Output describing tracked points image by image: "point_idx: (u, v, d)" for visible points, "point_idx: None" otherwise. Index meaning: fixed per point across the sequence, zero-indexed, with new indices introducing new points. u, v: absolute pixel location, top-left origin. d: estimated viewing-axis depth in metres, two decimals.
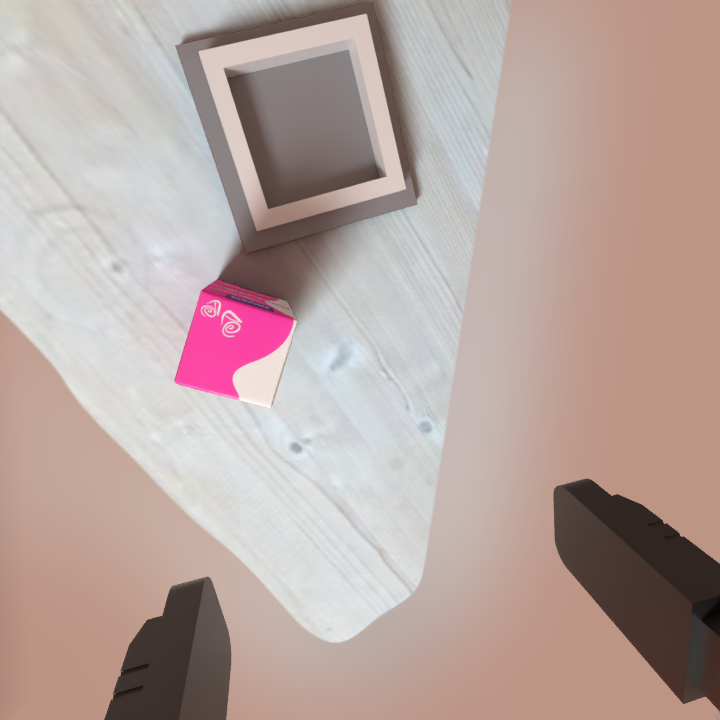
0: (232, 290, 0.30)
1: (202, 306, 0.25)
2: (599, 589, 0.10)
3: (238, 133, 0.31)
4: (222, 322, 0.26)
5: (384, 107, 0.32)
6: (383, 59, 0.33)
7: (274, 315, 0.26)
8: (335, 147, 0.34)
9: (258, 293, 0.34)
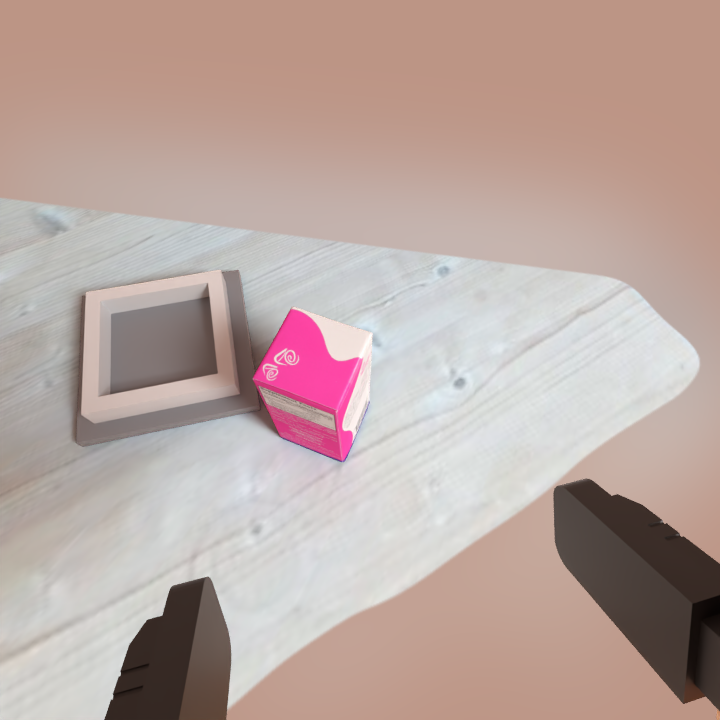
0: None
1: (267, 378, 0.27)
2: (599, 589, 0.10)
3: (151, 390, 0.35)
4: (284, 363, 0.27)
5: (155, 282, 0.40)
6: None
7: (284, 323, 0.29)
8: (182, 327, 0.40)
9: None
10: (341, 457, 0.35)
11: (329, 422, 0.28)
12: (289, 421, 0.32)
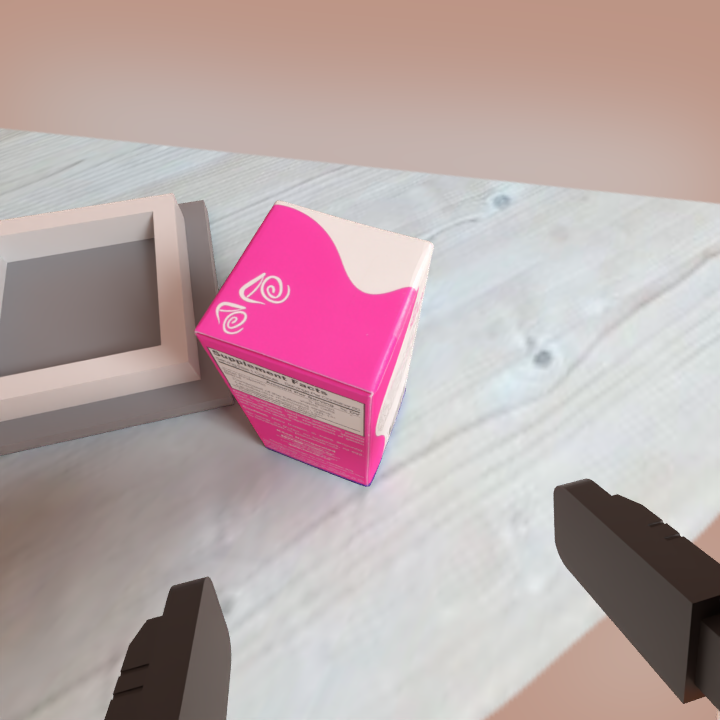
0: None
1: (223, 329, 0.13)
2: (599, 589, 0.10)
3: (49, 374, 0.21)
4: (260, 301, 0.13)
5: (71, 212, 0.26)
6: None
7: (261, 228, 0.15)
8: (114, 280, 0.26)
9: None
10: (366, 479, 0.21)
11: (353, 420, 0.14)
12: (275, 420, 0.18)
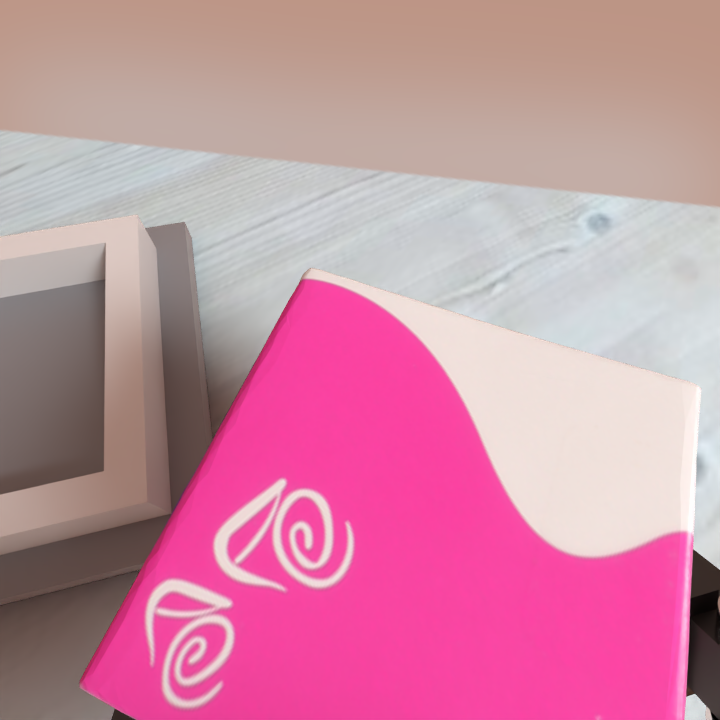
0: None
1: (163, 691, 0.04)
2: None
3: None
4: (271, 579, 0.05)
5: None
6: None
7: (273, 342, 0.06)
8: (49, 344, 0.18)
9: None
10: None
11: None
12: None
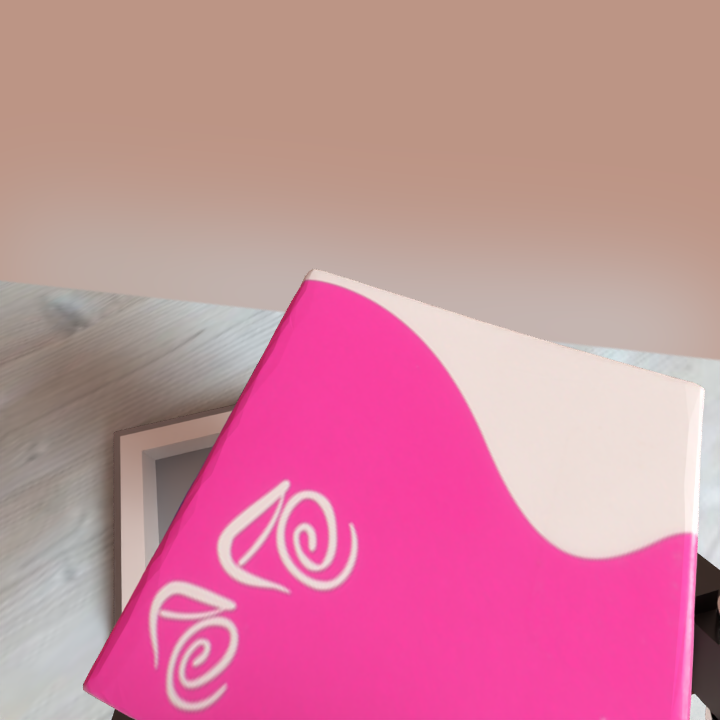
0: None
1: (168, 692, 0.04)
2: None
3: None
4: (275, 581, 0.05)
5: (218, 417, 0.28)
6: (171, 420, 0.30)
7: (275, 342, 0.06)
8: None
9: None
10: None
11: None
12: None
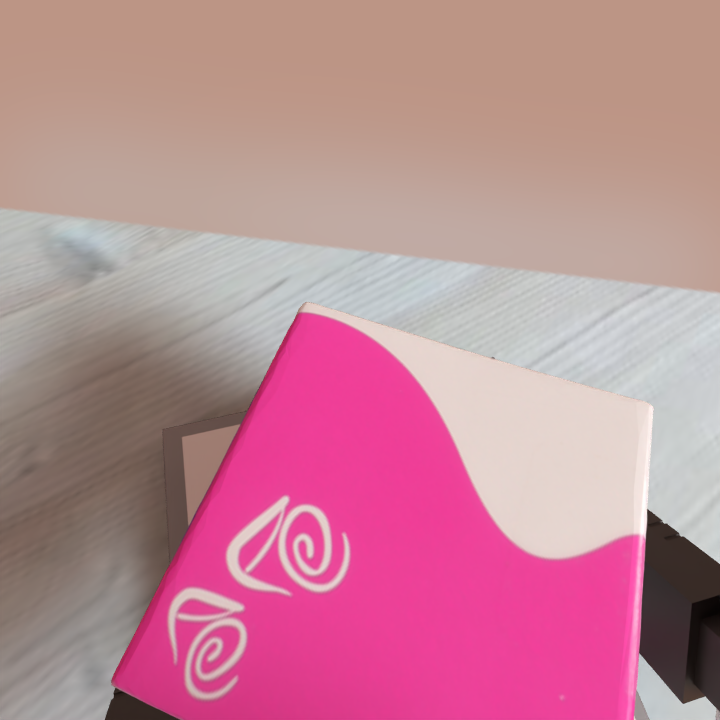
0: None
1: (187, 684, 0.05)
2: None
3: None
4: (278, 585, 0.05)
5: None
6: None
7: (275, 371, 0.07)
8: None
9: None
10: None
11: None
12: None
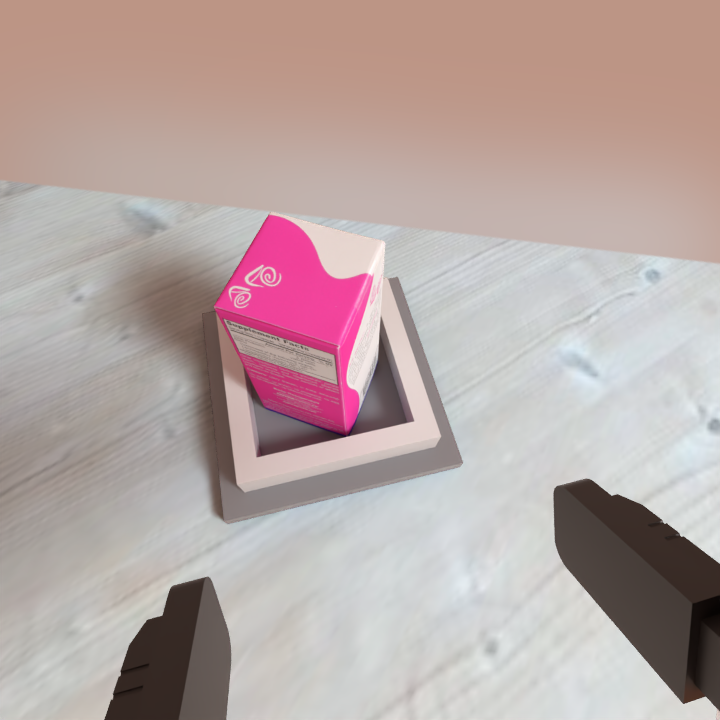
0: None
1: (234, 305, 0.18)
2: (599, 589, 0.10)
3: (327, 447, 0.25)
4: (259, 285, 0.19)
5: None
6: None
7: (259, 232, 0.20)
8: None
9: None
10: (345, 429, 0.26)
11: (328, 371, 0.20)
12: (272, 379, 0.23)
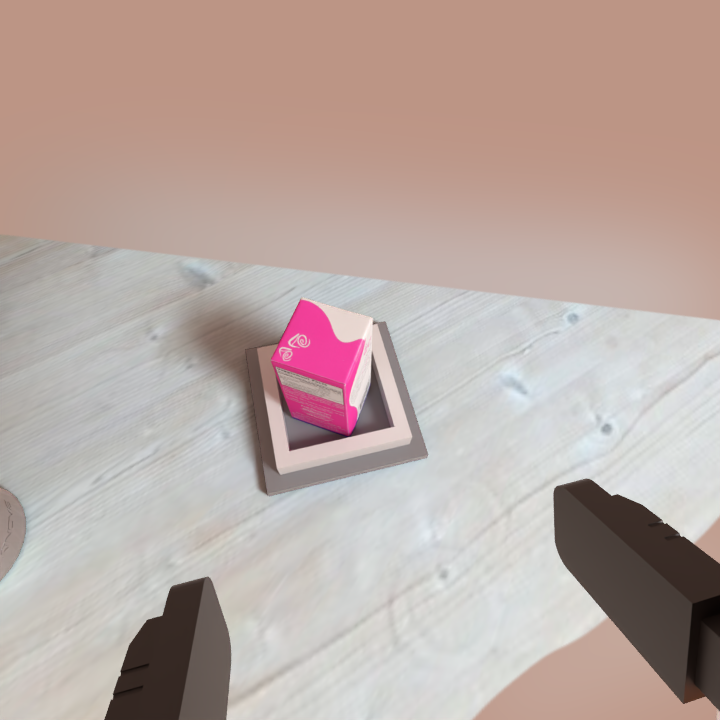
0: None
1: (283, 359, 0.31)
2: (599, 589, 0.10)
3: (336, 444, 0.38)
4: (297, 346, 0.32)
5: None
6: None
7: (295, 311, 0.33)
8: None
9: None
10: (348, 432, 0.39)
11: (338, 397, 0.33)
12: (301, 400, 0.36)
